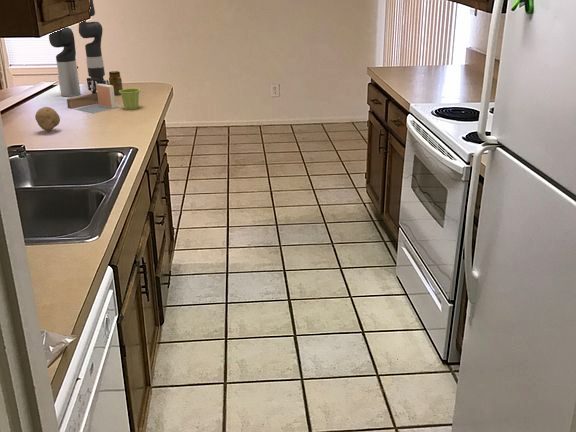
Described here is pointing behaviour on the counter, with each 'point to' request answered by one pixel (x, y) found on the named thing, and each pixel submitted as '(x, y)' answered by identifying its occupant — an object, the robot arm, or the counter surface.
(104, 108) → the mat
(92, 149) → the counter surface
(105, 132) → the counter surface
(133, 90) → the plant pot
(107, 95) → the tile
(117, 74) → the condiment
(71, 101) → the push bar
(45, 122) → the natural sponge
